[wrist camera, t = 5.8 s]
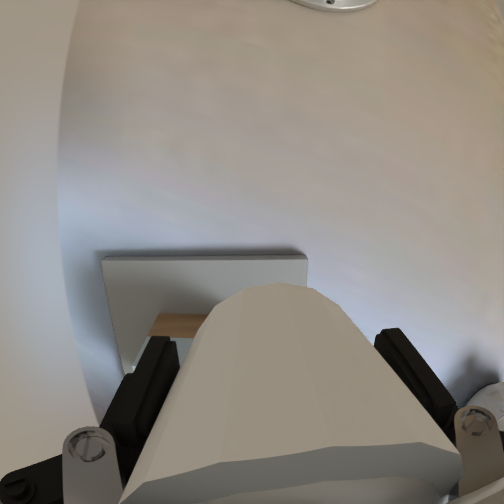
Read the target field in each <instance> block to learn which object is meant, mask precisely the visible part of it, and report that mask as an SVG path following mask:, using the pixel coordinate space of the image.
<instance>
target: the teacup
mask: <svg viewBox="0 0 504 504" xmlns="http://www.w3.org/2000/svg"><path fill="white" fill-rule="evenodd" d="M471 405H475V406H480V407H483V408H486V409H487V410H489V411H490V412H491V413H492V414H493V415H494V416H495V418H496V421H497V424H498V428H499V430H501V431H504V382H499V383H497V384H491V385H488V386H486V387H484V388H482V389H481V390H479V391H478V392H477V393H476V394H475V395H474V396H473V397H472V398H471V399H470V400H469V401H468V403H467V404H466V406H471Z"/></svg>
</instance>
